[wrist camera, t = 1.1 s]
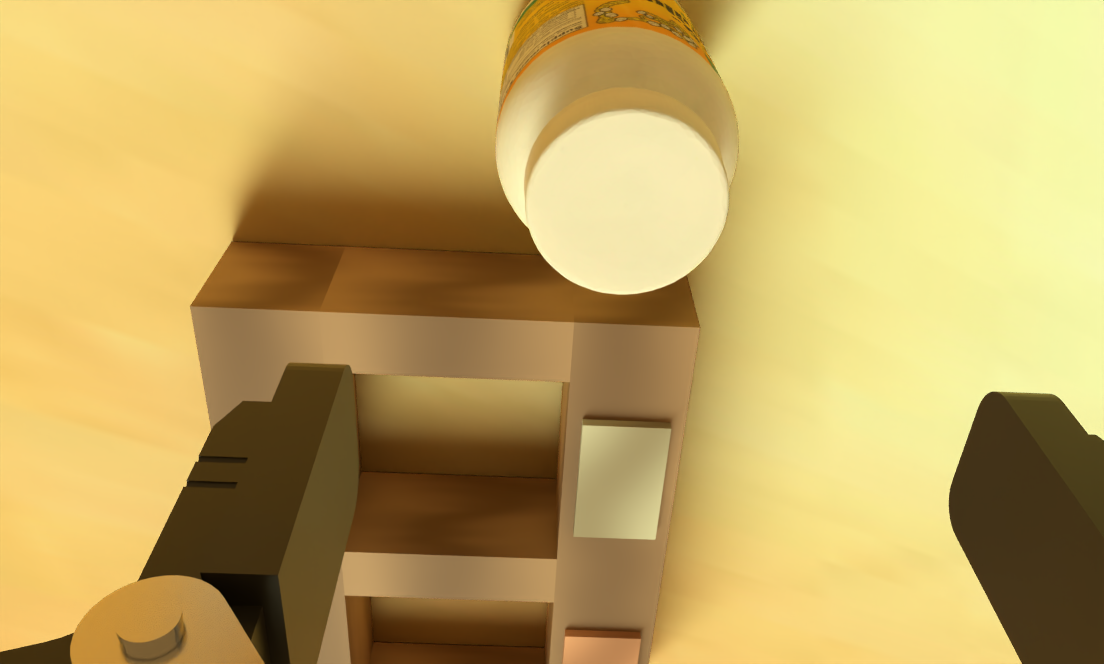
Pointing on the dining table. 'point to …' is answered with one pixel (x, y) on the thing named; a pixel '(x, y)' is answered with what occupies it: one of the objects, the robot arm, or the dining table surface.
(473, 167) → the dining table surface
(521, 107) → the supplement bottle
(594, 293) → the socket block
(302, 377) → the robot arm
